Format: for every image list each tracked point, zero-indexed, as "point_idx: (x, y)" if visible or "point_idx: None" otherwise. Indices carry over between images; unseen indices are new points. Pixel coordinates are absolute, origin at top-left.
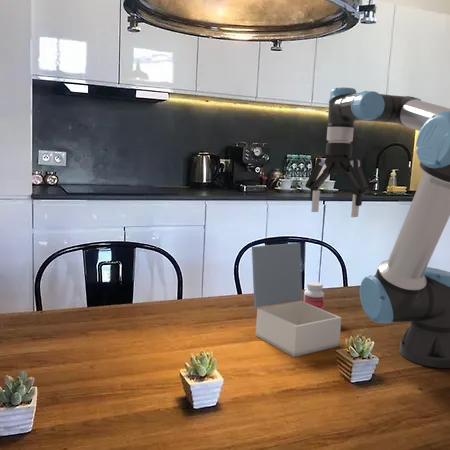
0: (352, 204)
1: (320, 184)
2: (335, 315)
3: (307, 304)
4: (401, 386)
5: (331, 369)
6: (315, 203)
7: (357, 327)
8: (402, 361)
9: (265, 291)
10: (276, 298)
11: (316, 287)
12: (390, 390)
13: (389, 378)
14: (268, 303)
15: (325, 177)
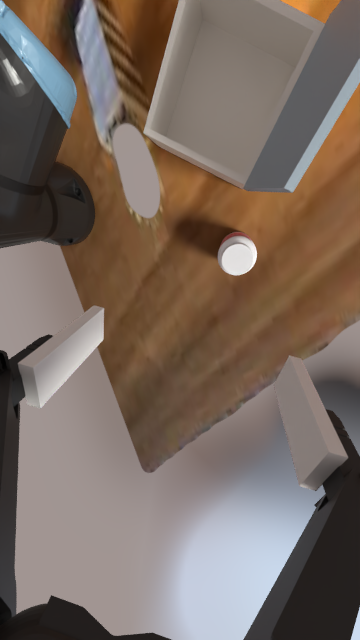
0: (70, 333)
1: (308, 530)
2: (156, 137)
3: (224, 167)
4: None
5: (130, 16)
6: (295, 394)
7: (166, 253)
8: (75, 158)
9: (324, 39)
10: (290, 97)
11: (229, 245)
12: (39, 12)
13: None
14: (303, 68)
15: (272, 604)
